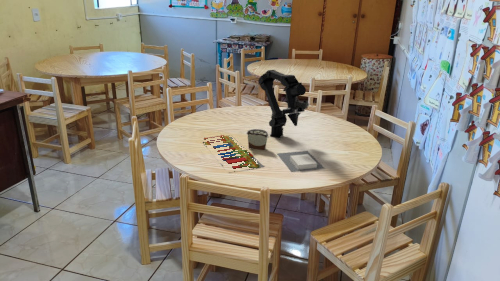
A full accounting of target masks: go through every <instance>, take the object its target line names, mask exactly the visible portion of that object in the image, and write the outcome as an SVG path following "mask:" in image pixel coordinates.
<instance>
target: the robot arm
mask: <svg viewBox="0 0 500 281" xmlns="http://www.w3.org/2000/svg"><path fill="white" fill-rule="evenodd" d="M275 80H276V81H278V82H280V84H281V85H282V86H283V87H284V88H283V89H282V91H283V92H285V98H286V100H285V103H286V104H287V105H286V106H287V107H286V108H283V109H280V108H281V107H280V105H279V103H278V100H277V98H276V94H275V91H274V81H275ZM257 82H258V84H259V87H260V89H261V90H263V91H264V92H265V95H266V98H267V101H268V104H269V107H270V109H271V116H270V118H271V119H270V120H269V122H268V124H269V125H268V126H269V127H271V129H270V130H271V131H270V135H269V136H270V137H275V138H281V137H282V136H283V135H284V127H285V126H286V124H287V120H288V118H289V119H290V121H291V122H292V124H293V126H295V127H298V123H299V122H298V121H299V116H300V115H301V113H303V112H305V110H307V109H308V107H309V106H310V104H309V102H308V100H303V101H300V100H299V98H298V97H302V96H304V95H305V94H306V91H307V88H306V87H305V85H304V84H303V83H302V82H300V81H298V78H296V76H295V75H294V74H284V73H283V72H279V71H277V70H276V69H268V70H266V71H265V72H264V73H263V74H261V75H260V76H259V78H258V81H257ZM287 117H288V118H287Z"/></svg>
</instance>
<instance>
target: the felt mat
mask: <svg viewBox="0 0 500 281" xmlns="http://www.w3.org/2000/svg"><path fill="white" fill-rule="evenodd" d="M304 154H308V155H309V156H310V157H311V158H312V159H313V160H314V161H315V162H316V163H317V168H310V169H300V170H298V169H297V168H296V167H295V166H294V165H293V163H292V162H291V161H290V156H293V155H304ZM276 156H278V157H279V159H280V161H282V162H283V163H284V164H285V166H286V167H287V168H288V170H289V171H290V172H291V173H296V172H298V173H299V172H306V171H314V170H315V171H316V170H325V169H326V167H324V166H323V165H322V164H321V162H320V161H318V159H317V158H316V157H314V156H313V154H311V153H310V151H308V150H301V151H291V152H289V151H288V152H279V153H276Z"/></svg>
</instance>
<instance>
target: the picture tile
mask: <svg viewBox="0 0 500 281" xmlns="http://www.w3.org/2000/svg"><path fill="white" fill-rule="evenodd" d="M290 161H291V162H292V163H293V165H294V166H295V167H296V168H297V169H298V170H300V169H310V168H317V163H316V162H315V161H314V160H313V159H312V158H311V157H310V156H309V155H308V154H304V155H293V156H290Z"/></svg>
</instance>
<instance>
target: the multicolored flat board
mask: <svg viewBox="0 0 500 281" xmlns="http://www.w3.org/2000/svg"><path fill="white" fill-rule="evenodd" d="M222 136H223V137H222ZM229 136H230V135H225V134H223V135H222V134H221V135H216V136H210V137H203V139H204V140H206V139H208V138H215V137H220V138H222V139H217V140H221V141H223V143H228V144H223V145H217V146H213V148H214V149H216V148H220V147H227V146H229V149H224V150H218V151H217V152H220V151H227V150H230V149H232V150H233V151H231V152H226V153H220V154H218V155H224V156H221V158H223V159H222V160H223V161H226V162H227V163H228V164H232V163H237V162H242V161H244V162H245V164H244V163H242V164H243V165H242V164H240V165H238V166H232V168H233V169H236V168H242V167H247V166H248V165H249V164H250V166H248V167H249V168H253V169H252V170H255V169H254V168H256V169H261V167H262V168H265V166H264V165H263V164H262V163H261V162H260V161H259V160H258V159H256V157H255V156H254V155H253V154H252V153H251V151H248V149H246V150H242V148H240V147H239V145H237V143H235V142H234V140H232V139H233V138H234V137H233V136H232V137H233V138H232V137H229ZM223 138H224V139H223ZM210 141H215V140H210ZM216 142H220V141H216ZM204 143H205V145H211V144H210V143H214V142H209V141H207V142H204ZM205 145H204V146H205ZM224 145H226V146H224ZM242 146H243V145H242ZM242 146H241V147H242ZM243 148H245V147H244V146H243ZM235 150H238V151H235ZM247 151H248V152H247ZM233 152H238V153H234V154H231V153H233ZM244 152H245V153H244ZM248 153H249V154H248ZM225 154H230V155H225ZM236 154H240V155H241V156H235V155H236ZM229 156H230V157H229ZM232 156H235V157H232ZM224 157H229V158H224ZM239 157H240V158H239ZM252 158H253V159H252ZM254 159H255V161H256V160H257V163H258V164H256V162H255V161H254ZM249 170H250V169H249ZM249 170H248V171H249Z"/></svg>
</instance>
